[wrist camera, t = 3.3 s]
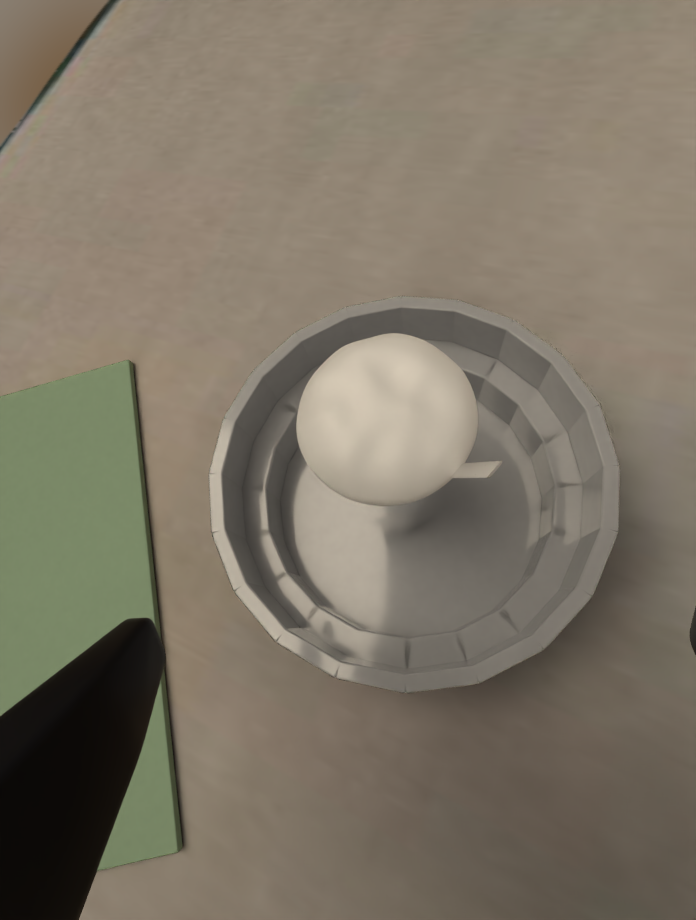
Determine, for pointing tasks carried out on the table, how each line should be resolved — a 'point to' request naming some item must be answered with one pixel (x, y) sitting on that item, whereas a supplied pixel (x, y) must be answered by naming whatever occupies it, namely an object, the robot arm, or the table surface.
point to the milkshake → (390, 428)
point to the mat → (82, 565)
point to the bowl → (436, 541)
